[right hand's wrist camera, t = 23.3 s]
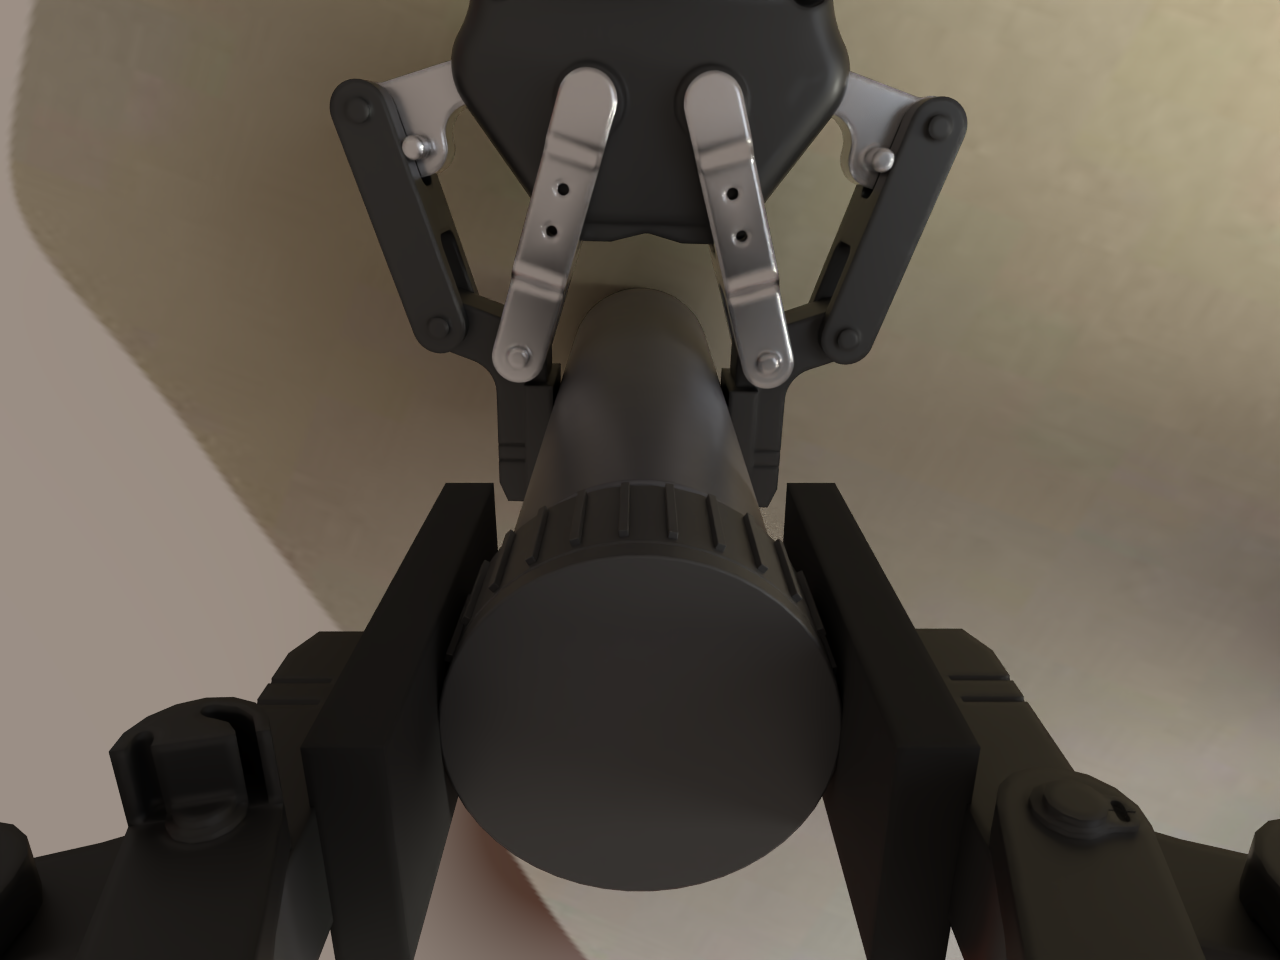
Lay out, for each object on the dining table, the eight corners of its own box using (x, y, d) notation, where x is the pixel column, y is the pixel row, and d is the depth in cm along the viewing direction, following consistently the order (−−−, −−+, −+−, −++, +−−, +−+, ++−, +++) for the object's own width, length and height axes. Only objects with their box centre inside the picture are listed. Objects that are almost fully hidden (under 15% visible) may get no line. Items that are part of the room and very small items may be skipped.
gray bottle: (735, 350, 28) (876, 677, 11) (644, 444, 29) (651, 869, 12) (635, 258, 27) (626, 468, 10) (545, 359, 28) (406, 698, 11)
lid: (837, 756, 13) (871, 865, 11) (512, 808, 13) (490, 923, 11) (791, 447, 11) (822, 512, 9) (420, 515, 12) (377, 592, 10)
